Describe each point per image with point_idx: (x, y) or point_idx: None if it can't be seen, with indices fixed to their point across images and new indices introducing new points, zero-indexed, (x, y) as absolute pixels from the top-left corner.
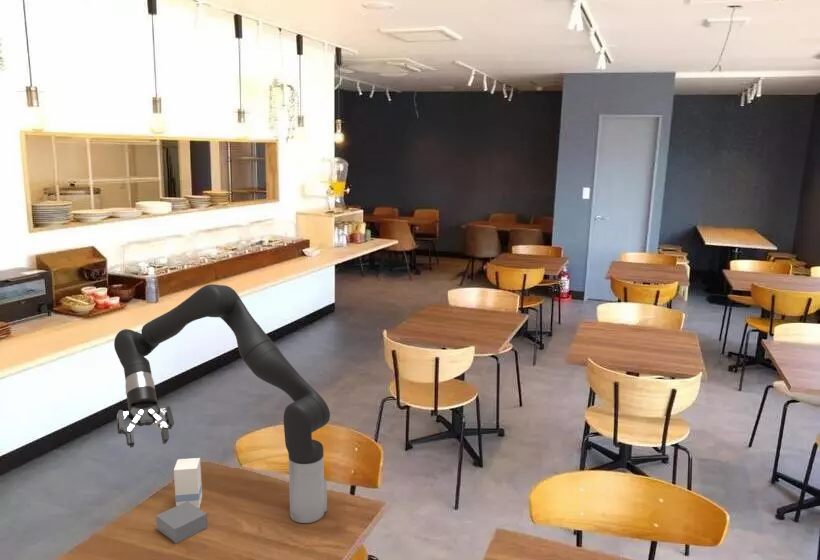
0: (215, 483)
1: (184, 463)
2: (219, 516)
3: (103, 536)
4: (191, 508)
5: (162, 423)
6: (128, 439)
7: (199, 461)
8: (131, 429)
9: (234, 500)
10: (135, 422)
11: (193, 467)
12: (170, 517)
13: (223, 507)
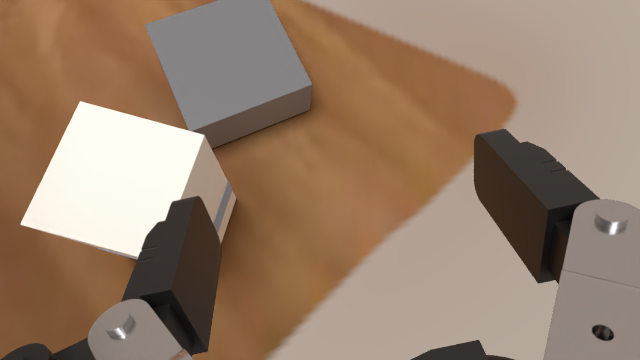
0: None
1: (130, 189)
2: (107, 104)
3: (467, 145)
4: (187, 77)
5: (148, 350)
6: (551, 164)
7: (40, 196)
8: (579, 217)
9: (23, 181)
10: (579, 282)
11: (94, 121)
12: (266, 53)
13: None
